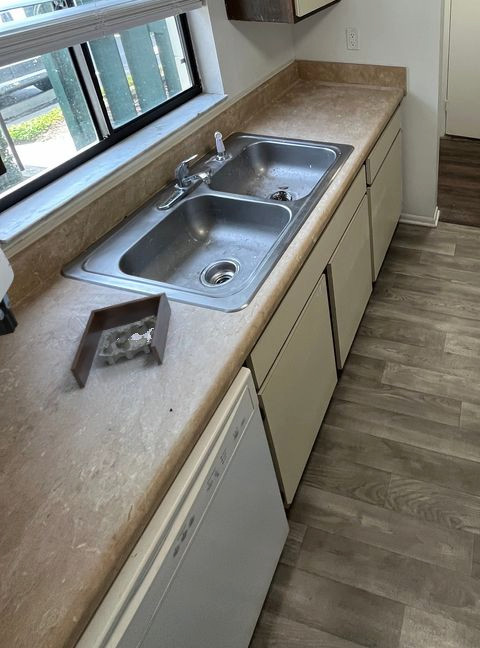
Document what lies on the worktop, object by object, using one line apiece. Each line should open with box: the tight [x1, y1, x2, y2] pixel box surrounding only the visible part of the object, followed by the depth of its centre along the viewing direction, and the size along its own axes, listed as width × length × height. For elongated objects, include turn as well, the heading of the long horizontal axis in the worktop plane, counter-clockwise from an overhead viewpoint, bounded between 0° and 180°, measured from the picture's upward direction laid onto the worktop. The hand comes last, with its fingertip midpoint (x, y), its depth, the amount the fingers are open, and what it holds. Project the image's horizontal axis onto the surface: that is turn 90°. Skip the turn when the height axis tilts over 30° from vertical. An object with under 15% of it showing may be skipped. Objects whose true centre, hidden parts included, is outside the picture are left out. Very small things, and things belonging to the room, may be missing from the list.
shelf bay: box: [70, 291, 172, 389], centre depth 96 cm, size 15×15×6 cm
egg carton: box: [98, 315, 157, 366], centre depth 97 cm, size 11×8×4 cm
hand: (5, 331), depth 75 cm, fingers closed
